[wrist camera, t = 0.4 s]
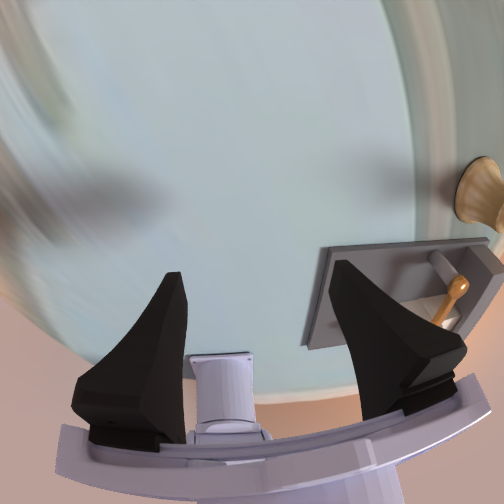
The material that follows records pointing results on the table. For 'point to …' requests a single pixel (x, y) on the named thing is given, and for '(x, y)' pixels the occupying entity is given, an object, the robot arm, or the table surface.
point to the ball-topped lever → (451, 298)
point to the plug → (434, 310)
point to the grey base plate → (414, 279)
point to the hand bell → (481, 195)
